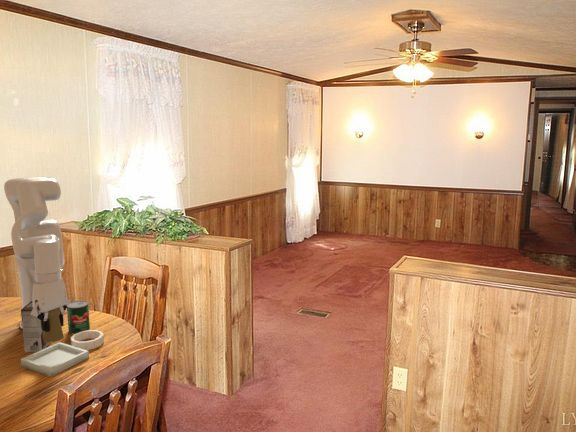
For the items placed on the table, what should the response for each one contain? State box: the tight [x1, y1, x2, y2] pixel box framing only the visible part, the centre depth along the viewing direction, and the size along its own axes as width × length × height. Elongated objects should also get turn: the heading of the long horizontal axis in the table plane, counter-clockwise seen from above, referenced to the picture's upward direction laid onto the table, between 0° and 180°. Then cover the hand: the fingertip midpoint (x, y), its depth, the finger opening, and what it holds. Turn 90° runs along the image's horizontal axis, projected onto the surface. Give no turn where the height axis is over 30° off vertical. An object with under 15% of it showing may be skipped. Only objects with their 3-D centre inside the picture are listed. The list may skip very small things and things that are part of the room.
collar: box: [70, 329, 105, 351], centre depth 179 cm, size 11×11×3 cm
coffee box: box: [20, 301, 51, 353], centre depth 175 cm, size 9×6×16 cm
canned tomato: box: [66, 300, 91, 335], centre depth 190 cm, size 8×8×11 cm
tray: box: [20, 341, 90, 377], centre depth 165 cm, size 15×15×2 cm
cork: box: [43, 308, 65, 343], centre depth 163 cm, size 6×6×11 cm
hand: (53, 327), depth 163 cm, fingers closed on cork, 4 cm apart
